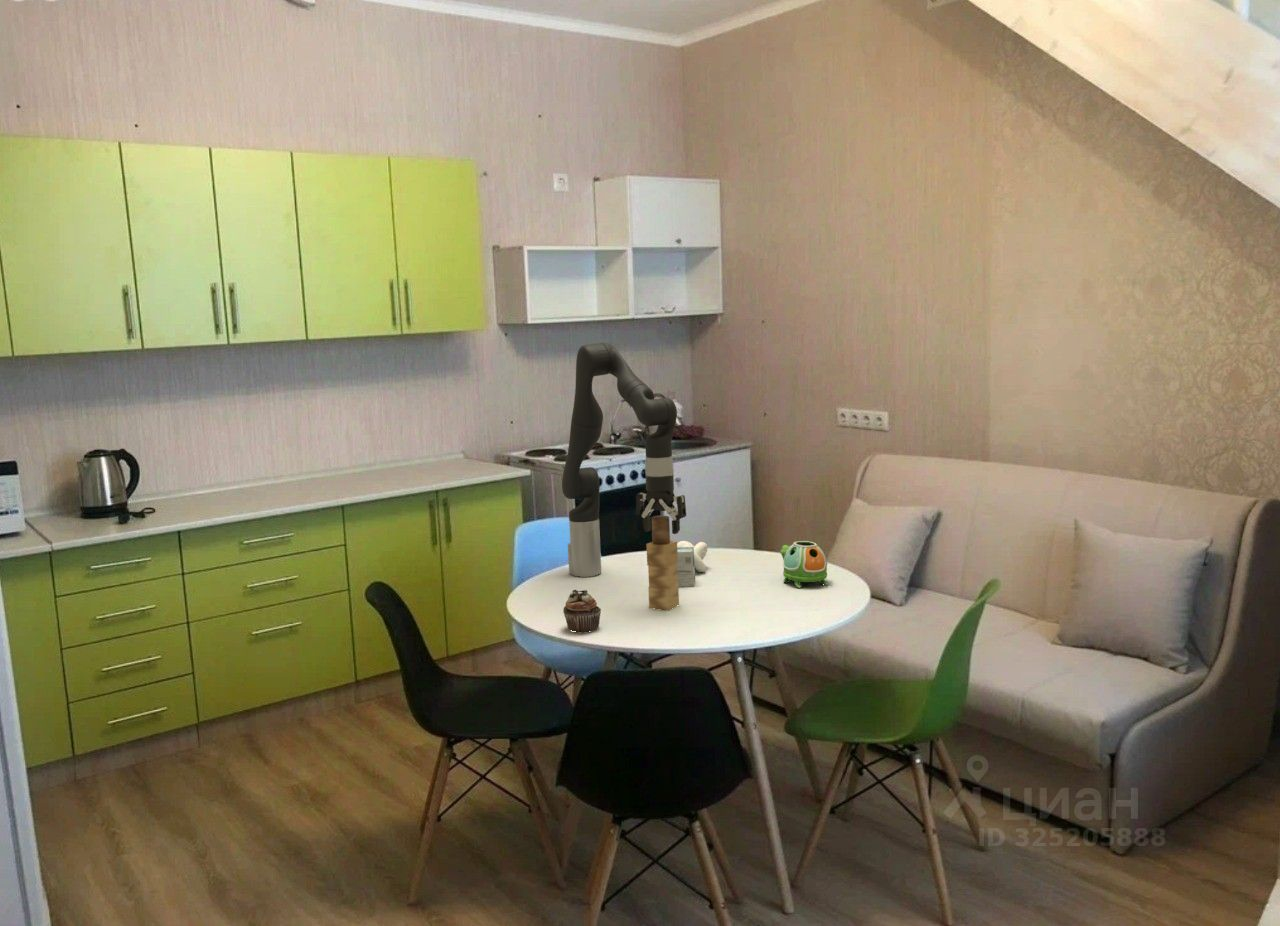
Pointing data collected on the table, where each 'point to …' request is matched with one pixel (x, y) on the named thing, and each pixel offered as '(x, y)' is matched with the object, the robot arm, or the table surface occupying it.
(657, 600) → the tower base
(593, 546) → the robot arm
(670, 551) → the tower top
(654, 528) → the walnut cylinder
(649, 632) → the table surface
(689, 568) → the light bulb box
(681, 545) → the white knot sculpture
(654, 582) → the tower mid
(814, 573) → the turtle holder
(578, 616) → the cupcake
